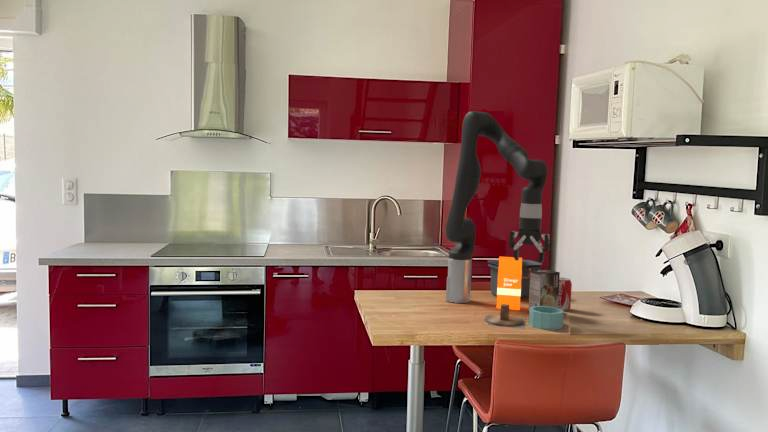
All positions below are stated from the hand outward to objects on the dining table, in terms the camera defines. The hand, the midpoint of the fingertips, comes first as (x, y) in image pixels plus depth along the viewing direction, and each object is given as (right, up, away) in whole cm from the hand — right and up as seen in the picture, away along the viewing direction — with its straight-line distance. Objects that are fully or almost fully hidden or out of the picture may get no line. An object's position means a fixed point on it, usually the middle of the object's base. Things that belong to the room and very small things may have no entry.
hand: (528, 261), depth 227 cm
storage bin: (+3, -18, +41) cm, 45 cm away
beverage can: (+17, -20, +19) cm, 32 cm away
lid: (-9, -21, -4) cm, 23 cm away
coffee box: (+8, -21, +11) cm, 25 cm away
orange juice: (-4, -20, +18) cm, 27 cm away
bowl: (+4, -22, -8) cm, 24 cm away
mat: (-9, -21, -4) cm, 24 cm away
